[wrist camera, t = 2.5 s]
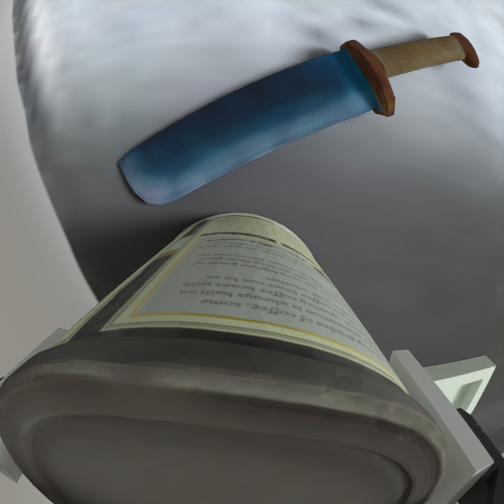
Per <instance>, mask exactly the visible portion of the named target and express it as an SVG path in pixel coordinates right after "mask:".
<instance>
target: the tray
mask: <svg viewBox="0 0 504 504" xmlns="http://www.w3.org/2000/svg"><path fill="white" fill-rule="evenodd" d="M495 367H496V365H495V364H494V363H492V362H491V361H490V360H489V359H488V358H487V357H486V356H485V355H484V356H480V357H475V358H471V359H466V360H461V361H456V362H451V363H446V364H440V365H434V366H428V367H423V368H424V370H425V371H426V372H427V373H428V375H429V376H430V377H431V378H432V379H433V381H434V382H435V383H436V384H437V386H438V387H439V388H440V389H441V391H442V392H443V393H444V395H445V396H446V397H447V398H448V400H449V401H450V402H451V403H452V405H453V406H454V407H455V409H458V408H462V409H463V410H465V411H466V412H468V413H469V414H471V412H472V411H473V409H474V407H475V406H476V404H477V402H478V400H479V398H480V397H481V395H482V393H483V391H484V389H485V387H486V385H487V383H488V381H489V379H490V377H491V375H492V373H493V371H494V369H495Z"/></svg>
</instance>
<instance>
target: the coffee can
mask: <svg viewBox="0 0 504 504" xmlns="http://www.w3.org/2000/svg"><path fill="white" fill-rule="evenodd" d="M0 437H1V439H2V441H3V443H4V445H5V447H6V449H7V451H8V453H9V454H10V456H11V457H12V459H13V460H14V462H15V463H16V465H17V466H18V467H19V468H20V470H21V471H22V473H23V474H24V475H25V476H26V477H27V478H28V479H29V481H30V482H31V483H32V484H33V485H34V486H35V487H36V488H37V489H38V490H39V491H40V492H41V493H42V494H43V495H44V496H46V497H47V498H48V499H49V500H50V501H51V502H53V503H54V504H425V503H426V502H427V501H428V500H429V499H430V497H431V496H432V495H433V494H434V492H435V491H436V490H437V488H438V487H439V485H440V484H441V482H442V481H443V479H444V476H445V474H446V471H447V469H448V466H449V455H450V450H449V446H448V443H447V440H446V437H445V435H444V433H443V431H442V430H441V428H440V427H439V426H438V424H437V423H436V421H435V420H434V419H433V417H432V416H431V415H430V413H429V412H428V411H427V410H426V409H425V408H424V407H423V406H422V405H421V404H419V403H418V402H417V401H416V400H415V399H414V398H413V397H411V396H410V395H409V393H408V391H407V390H406V388H405V387H404V385H403V384H402V382H401V381H400V379H399V378H398V376H397V375H396V373H395V372H394V370H393V369H392V367H391V366H390V364H389V363H388V361H387V360H386V358H385V357H384V355H383V354H382V352H381V351H380V350H379V348H378V347H377V345H376V344H375V342H374V341H373V339H372V338H371V336H370V335H369V333H368V332H367V331H366V329H365V328H364V326H363V325H362V324H361V322H360V321H359V319H358V318H357V317H356V315H355V314H354V313H353V311H352V310H351V308H350V307H349V306H348V304H347V303H346V301H345V300H344V299H343V297H342V296H341V295H340V293H339V292H338V290H337V289H336V288H335V286H334V285H333V284H332V282H331V281H330V280H329V278H328V277H327V276H326V274H325V273H324V272H323V270H322V269H321V267H320V266H319V265H318V264H317V262H316V261H315V260H314V258H313V256H312V254H311V252H310V250H309V249H308V248H307V246H306V245H305V244H304V243H303V242H302V241H301V240H300V238H299V237H298V236H296V235H295V234H294V233H293V232H292V231H290V230H289V229H287V228H286V227H285V226H283V225H281V224H279V223H277V222H275V221H273V220H271V219H268V218H265V217H262V216H258V215H255V214H251V213H235V212H234V213H224V214H218V215H214V216H211V217H207V218H205V219H202V220H200V221H198V222H196V223H194V224H192V225H191V226H189V227H188V228H186V229H185V230H184V231H183V232H182V233H180V234H179V235H178V236H177V237H176V238H175V239H174V241H172V242H171V243H170V244H169V245H167V246H166V247H165V248H164V249H163V250H161V251H160V252H159V253H158V254H156V255H155V256H154V257H153V258H152V259H150V260H149V261H148V262H147V263H146V264H144V265H143V266H142V267H141V268H140V269H138V270H137V271H136V272H135V273H134V274H132V275H131V276H130V277H129V278H128V279H126V280H125V281H124V282H123V283H121V284H120V285H119V286H118V287H117V288H116V289H114V290H113V291H112V292H111V293H110V294H109V295H108V296H106V297H105V298H104V299H103V300H102V301H101V302H99V303H98V304H97V305H96V306H95V307H94V308H93V309H92V310H91V311H90V312H88V313H87V314H86V315H85V316H84V317H83V318H82V319H81V320H80V321H79V322H77V323H76V324H75V325H74V326H73V327H72V328H71V329H70V330H69V331H67V332H66V333H65V334H64V335H63V336H62V337H61V338H60V339H59V340H58V341H57V342H56V343H55V344H54V345H53V346H52V347H51V348H49V349H46V350H43V351H41V352H39V353H37V354H35V355H34V356H32V357H31V358H30V359H28V360H27V361H26V362H24V363H23V364H22V365H21V366H20V367H19V368H17V369H16V370H15V371H14V372H13V373H12V374H11V375H10V376H8V377H7V378H6V379H5V380H4V382H3V383H2V385H1V386H0Z"/></svg>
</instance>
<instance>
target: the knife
mask: <svg viewBox="0 0 504 504" xmlns="http://www.w3.org/2000/svg"><path fill="white" fill-rule="evenodd" d="M459 60H462V61H463V62H464V63H465V64H466V65H467V66H469V67H471V68H477V67H478V66H479V59H478V56H477V54H476V51H475V49H474V48H473V46H472V44H471V43H470V42H469V40H468V39H467V38H466V37H465V36H463V35H462V34H461V33H450V36H444V37H436V38H430V39H424V40H418V41H413V42H407V43H402V44H398V45H393V46H389V47H385V48H380V49H376V50H372V51H369V50H368V49H366V48H365V47H364V46H363V45H361V44H360V43H359V42H357V41H356V40H350V41H347V42H345V43H344V44H342V45H341V47H340V51H337V52H334V53H331V54H328V55H324V56H321V57H318V58H315V59H312V60H310V61H307V62H304V63H301V64H298V65H296V66H293V67H290V68H288V69H285V70H283V71H280V72H278V73H275V74H273V75H270V76H268V77H266V78H263V79H261V80H259V81H256V82H254V83H252V84H250V85H247V86H245V87H243V88H241V89H239V90H237V91H234V92H232V93H230V94H228V95H226V96H224V97H222V98H220V99H218V100H216V101H214V102H212V103H210V104H208V105H206V106H205V107H203V108H201V109H199V110H197V111H195V112H193V113H192V114H190V115H188V116H186V117H185V118H183V119H181V120H179V121H178V122H176V123H174V124H172V125H171V126H169V127H167V128H166V129H164V130H162V131H161V132H159V133H158V134H156V135H154V136H153V137H151V138H150V139H148V140H147V141H145V142H144V143H142V144H141V145H139V146H138V147H136V148H135V149H134V150H132V151H131V152H130V153H129V154H128V155H126V156H125V157H124V158H123V159H122V160H121V161H119V164H120V167H121V169H122V171H123V173H124V175H125V177H126V179H127V181H128V183H129V184H130V186H131V187H132V189H133V190H134V192H135V193H136V194H137V195H138V196H140V197H141V198H142V199H143V200H144V201H145V202H146V203H148V204H157V205H162V204H165V203H168V202H171V201H175V200H176V199H178V198H180V197H182V196H184V195H186V194H187V193H189V192H191V191H193V190H195V189H197V188H199V187H200V186H202V185H204V184H206V183H208V182H210V181H212V180H214V179H216V178H218V177H220V176H222V175H223V174H225V173H227V172H229V171H231V170H233V169H235V168H237V167H239V166H242V165H244V164H246V163H248V162H250V161H252V160H254V159H256V158H258V157H260V156H262V155H264V154H267V153H269V152H271V151H273V150H275V149H277V148H280V147H282V146H284V145H286V144H289V143H291V142H293V141H295V140H298V139H300V138H302V137H305V136H307V135H309V134H312V133H314V132H317V131H319V130H321V129H324V128H326V127H329V126H331V125H334V124H336V123H339V122H341V121H344V120H346V119H349V118H352V117H354V116H357V115H360V114H362V113H365V112H368V111H370V110H373V111H374V112H375V113H376V114H380V115H383V116H386V117H389V116H392V115H394V110H395V96H394V94H393V91H392V88H391V85H390V83H389V80H388V78H389V77H393V76H396V75H400V74H403V73H407V72H411V71H415V70H419V69H423V68H427V67H431V66H435V65H440V64H444V63H449V62H454V61H459Z"/></svg>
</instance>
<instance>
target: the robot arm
mask: <svg viewBox="0 0 504 504" xmlns="http://www.w3.org/2000/svg"><path fill="white" fill-rule="evenodd" d="M67 331H69V330H65V329H60V328H59V329H58V330H56V331H55V332H54V333H53V334H52V335H51V336H49V337H48V338H47V339H46V340H45V341H44V342H43V343H41V344H40V345H39V346H38V347H37V348H36V349H35V350H33V351H32V352H31V353H30V354H29V355H28V356H27V357H26V358H25V359H23V360H22V361H21V362H20V363H19V364H18V365H17V366H16V367H15V368H14V369H13V370H11V372H9V373H8V374H7V375H6V376H5V377H2V378H0V386H1V385H2V383H3V382H4V380H5V379H6V378H7V377H8V376H10V375H11V374H12V373H13V372H14V371H15V370H16V369H17V368H19V367H20V366H21V365H22V364H23V363H24V362H26V361H27V360H28V359H30V358H31V357H32V356H34V355H35V354H37V353H39V352H41V351H43V350H46V349H49V348H51V347H52V346H53V345H54V344H55V343H56V342H57V341H58V340H59V339H60V338H61V337H62V336H63V335H64V334H65V333H66V332H67ZM389 364H390V366H391V367H392V369H393V370H394V372H395V373H396V375H397V376H398V378H399V379H400V381H401V382H402V384H403V385H404V387H405V388H406V390H407V391H408V393H409V395H410V396H411V397H413V398H414V399H415V400H416V401H417V402H418V403H419V404H421V405H422V406H423V407H424V408H425V409H426V410H427V411H428V412H429V413H430V415H431V416H432V417H433V419H434V420H435V421H436V423H437V424H438V426H439V427H440V428H441V430H442V431H443V433H444V435H445V437H446V440H447V443H448V446H449V450H450V455H449V466H448V469H447V471H446V474H445V476H444V479H443V481H442V482H441V484H440V485H439V487H438V488H437V490H436V491H435V492H434V494H433V495H432V496H431V497H430V499H429V500H428V501H427V502H426V503H425V504H455V503H456V502H457V501H458V502H459V504H504V458H503V457H502V455H501V454H500V453H499V451H498V450H497V448H496V447H495V446H494V444H493V443H492V442H491V440H490V439H489V438H488V436H487V435H486V434H485V432H484V433H483V430H482V428H481V427H480V426H479V425H477V424H478V423H477V422H476V421H475V419H474V418H473V417H472V416H471V414H469V413H468V412H466V411H465V410H463V409H462V408H458V409H455V407H454V406H453V405H452V403H451V402H450V401H449V400H448V398H447V397H446V396H445V395H444V393H443V392H442V391H441V389H440V388H439V387H438V386H437V384H436V383H435V382H434V381H433V379H432V378H431V377H430V376H429V375H428V373H427V372H426V371H425V370H424V368H423V367H422V366H421V365H420V364H419V362H418V361H417V360H416V359H415V358H414V356H413V355H412V354H411V353H410V352H409V350H400V351H393V352H392V355H391V358H390V361H389ZM0 471H1V473H2V474H4V475H5V476H7V477H8V478H10V479H11V480H13V481H14V482H16V483H17V481H18V480H19V478H20V476H21V475H22V471H21V470H20V468H19V467H18V466H17V465H16V463H15V462H14V460H13V459H12V457H11V456H10V454H9V453H8V451H7V449H6V447H5V445H4V443H3V441H2V439H1V437H0Z"/></svg>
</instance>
